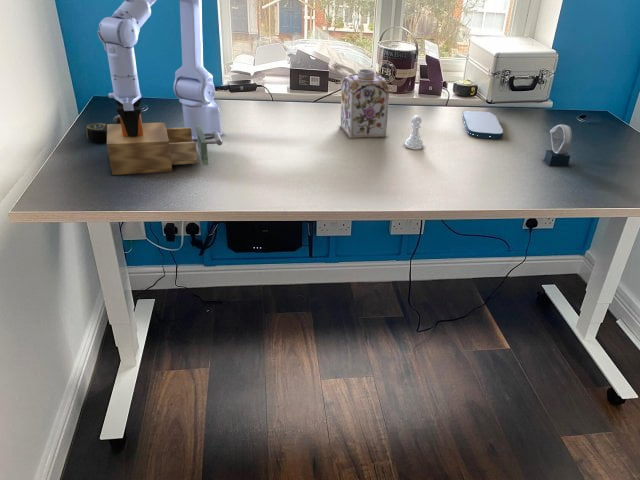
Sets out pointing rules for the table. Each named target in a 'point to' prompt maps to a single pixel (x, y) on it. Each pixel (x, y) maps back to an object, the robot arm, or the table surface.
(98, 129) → the tape measure
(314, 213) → the table surface
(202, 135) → the drawer
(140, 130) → the plain orange block
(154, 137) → the cabinet
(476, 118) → the external hard drive
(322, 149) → the table surface
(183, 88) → the robot arm
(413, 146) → the chess pawn
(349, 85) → the decorative jar
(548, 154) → the watch
